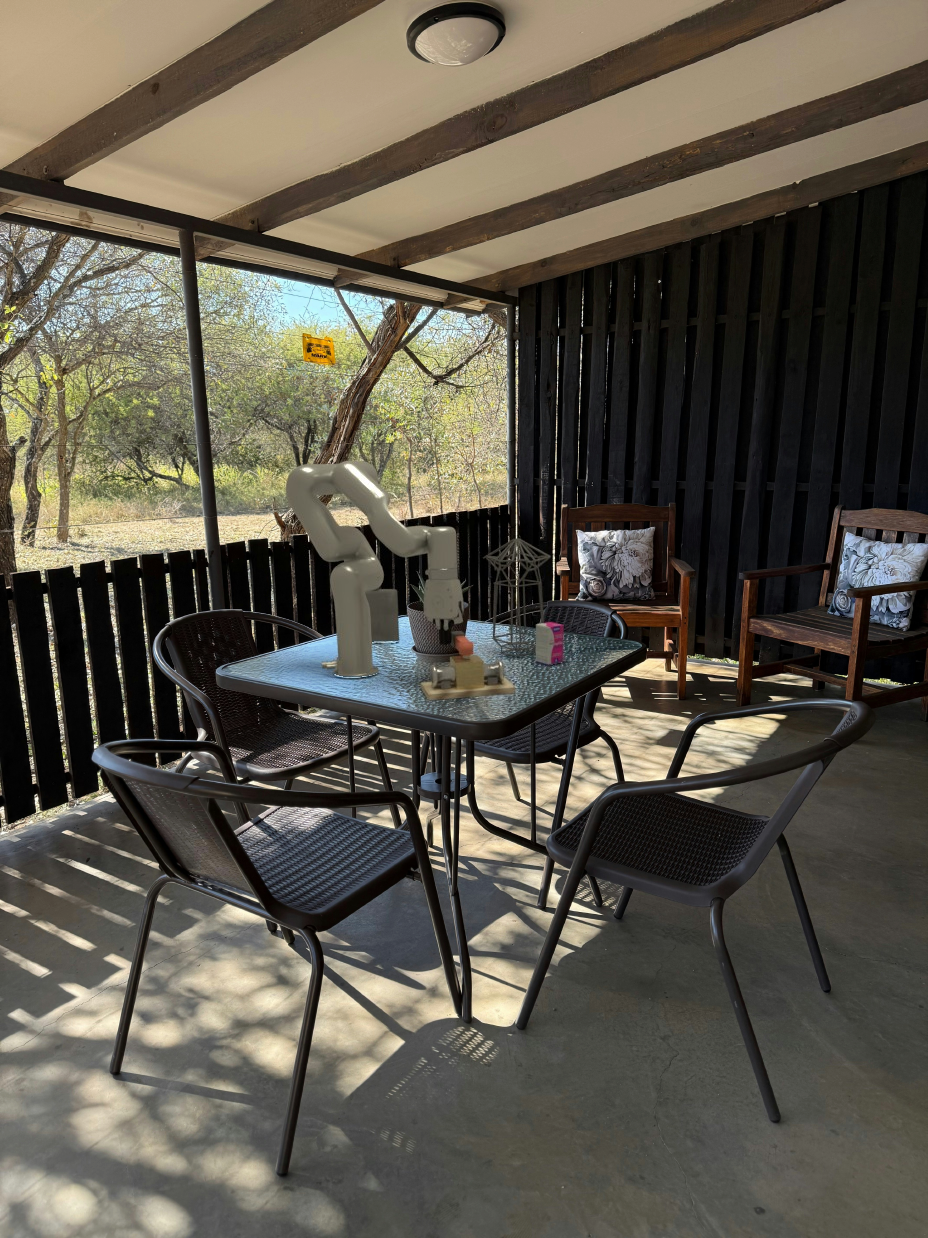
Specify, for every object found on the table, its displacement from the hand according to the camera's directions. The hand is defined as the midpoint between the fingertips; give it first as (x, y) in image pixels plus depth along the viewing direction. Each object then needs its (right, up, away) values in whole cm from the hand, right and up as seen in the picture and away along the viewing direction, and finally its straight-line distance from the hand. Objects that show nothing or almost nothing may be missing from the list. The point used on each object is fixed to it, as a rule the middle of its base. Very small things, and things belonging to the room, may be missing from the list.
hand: (445, 643), depth 211 cm
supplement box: (+30, -6, +20) cm, 36 cm away
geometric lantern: (+22, -4, +33) cm, 40 cm away
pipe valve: (+6, -12, -7) cm, 15 cm away
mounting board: (+6, -12, -7) cm, 15 cm away
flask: (-24, -2, +55) cm, 60 cm away
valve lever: (+4, -2, -3) cm, 6 cm away
